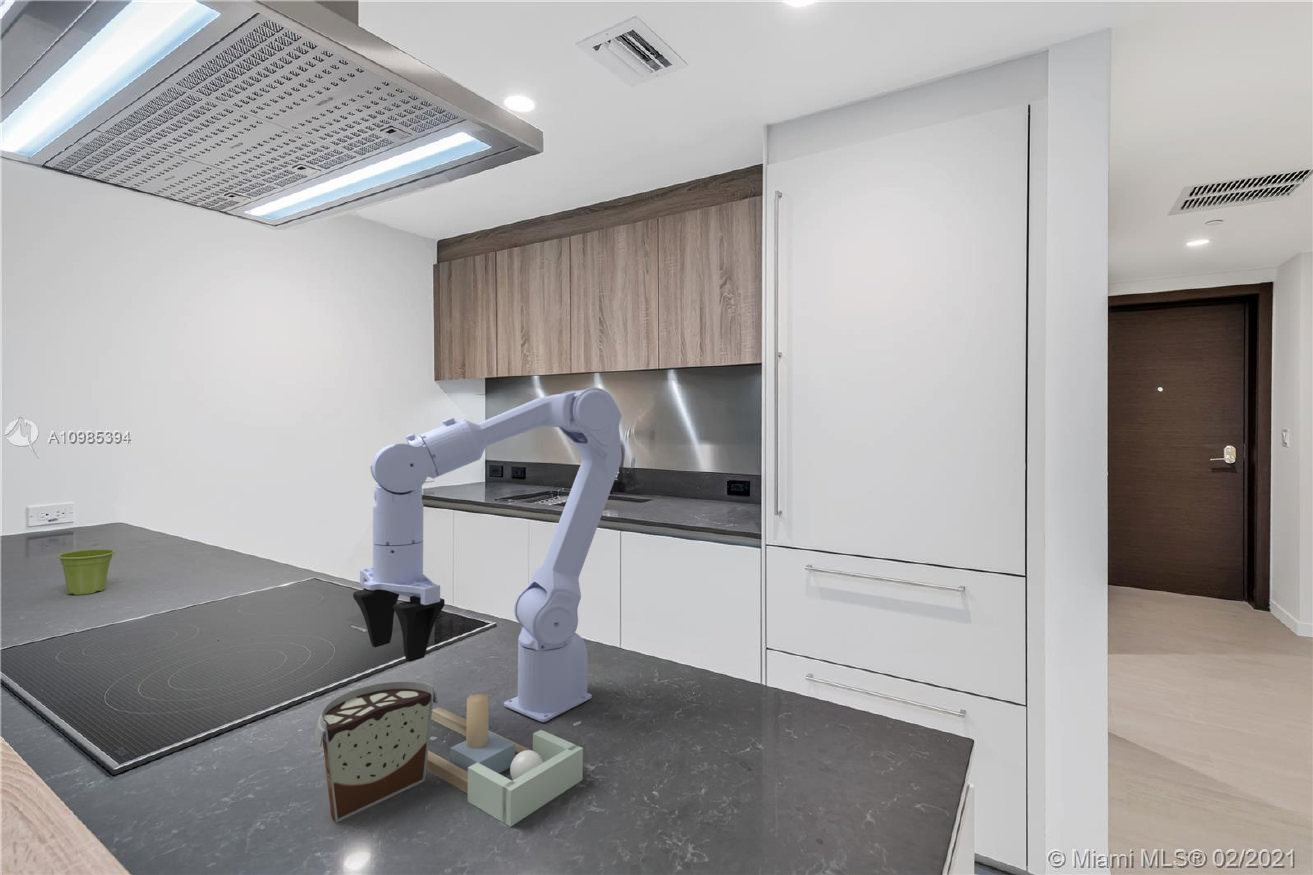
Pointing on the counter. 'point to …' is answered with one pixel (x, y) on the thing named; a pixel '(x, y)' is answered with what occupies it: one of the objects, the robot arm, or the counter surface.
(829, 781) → the counter surface
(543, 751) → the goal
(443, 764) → the lane
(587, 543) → the robot arm
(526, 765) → the ball
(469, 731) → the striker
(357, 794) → the food container
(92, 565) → the plant pot
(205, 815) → the counter surface
